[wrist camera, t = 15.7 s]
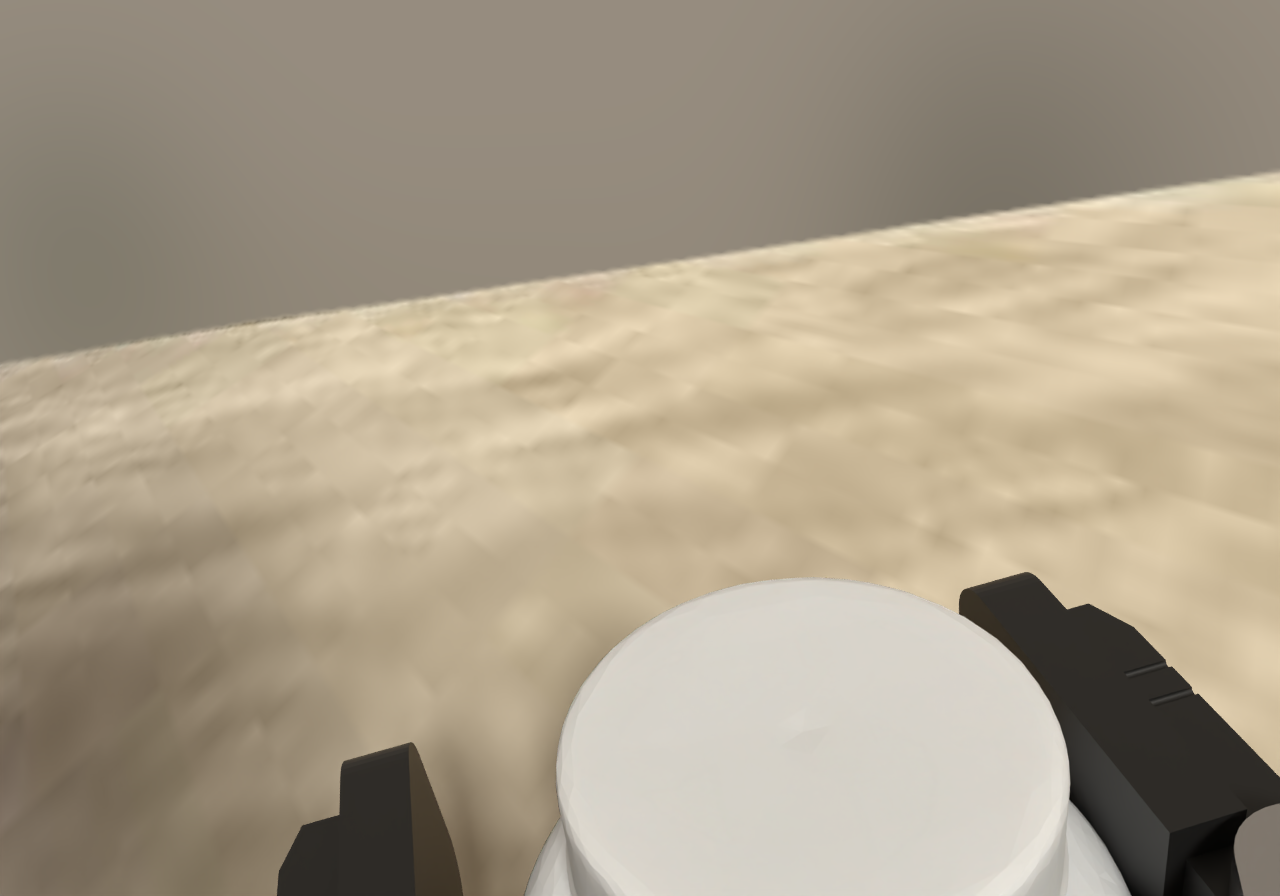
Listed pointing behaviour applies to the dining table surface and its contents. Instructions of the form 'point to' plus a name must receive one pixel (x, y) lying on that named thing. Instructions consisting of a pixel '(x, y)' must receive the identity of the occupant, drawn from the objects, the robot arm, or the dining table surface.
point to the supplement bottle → (815, 757)
